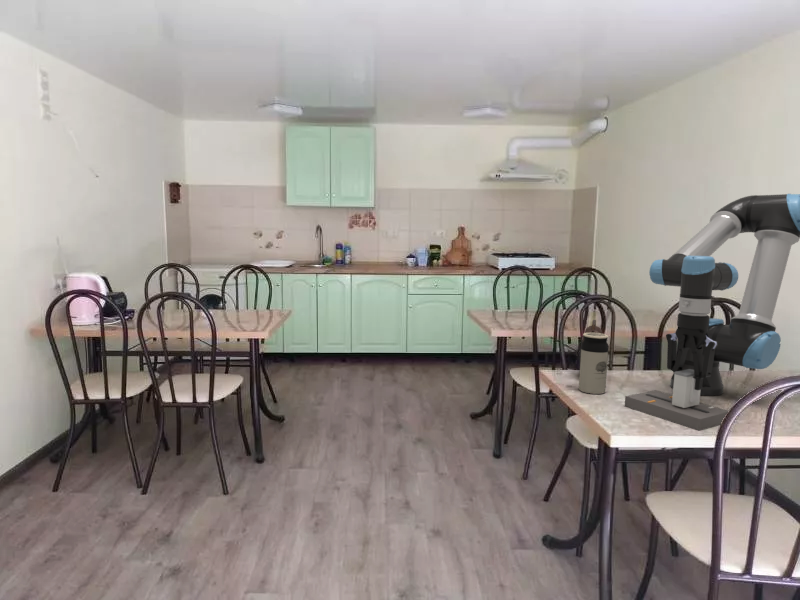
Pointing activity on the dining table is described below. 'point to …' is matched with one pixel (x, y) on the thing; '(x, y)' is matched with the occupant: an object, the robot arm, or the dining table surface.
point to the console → (676, 410)
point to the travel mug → (593, 363)
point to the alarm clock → (591, 331)
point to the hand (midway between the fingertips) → (685, 398)
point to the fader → (683, 389)
